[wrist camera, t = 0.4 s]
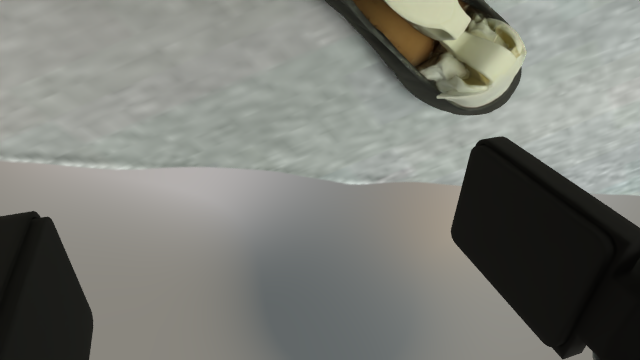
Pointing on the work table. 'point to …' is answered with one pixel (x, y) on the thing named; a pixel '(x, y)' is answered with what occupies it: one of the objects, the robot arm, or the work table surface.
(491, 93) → the dark grey shoe
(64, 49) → the work table surface
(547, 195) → the robot arm
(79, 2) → the work table surface
